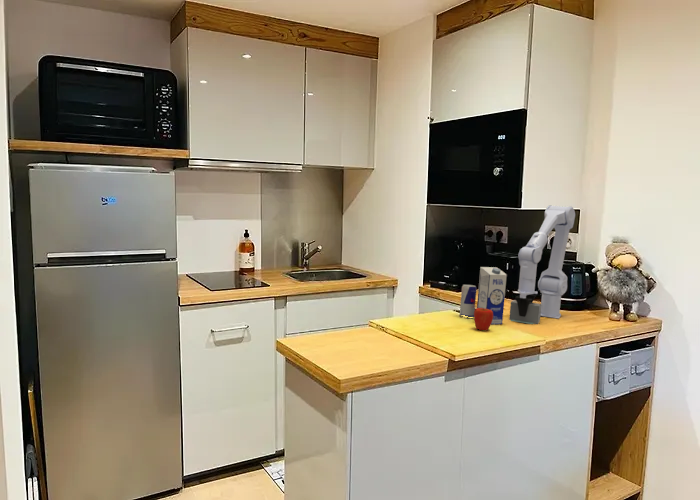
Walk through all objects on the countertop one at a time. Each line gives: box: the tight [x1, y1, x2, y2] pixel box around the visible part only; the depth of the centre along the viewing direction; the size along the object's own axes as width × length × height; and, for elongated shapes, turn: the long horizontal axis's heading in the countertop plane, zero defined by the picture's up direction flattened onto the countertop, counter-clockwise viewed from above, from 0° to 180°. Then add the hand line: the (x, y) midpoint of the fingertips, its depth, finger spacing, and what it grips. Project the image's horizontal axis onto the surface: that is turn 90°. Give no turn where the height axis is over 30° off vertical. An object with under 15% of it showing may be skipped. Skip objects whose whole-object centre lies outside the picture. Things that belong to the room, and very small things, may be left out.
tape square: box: [510, 320, 534, 325], centre depth 197 cm, size 8×8×1 cm
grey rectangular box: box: [508, 299, 542, 325], centre depth 196 cm, size 6×10×7 cm, turn 62°
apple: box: [473, 307, 493, 331], centre depth 177 cm, size 6×6×8 cm
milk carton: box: [476, 266, 508, 325], centre depth 189 cm, size 7×7×20 cm
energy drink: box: [459, 284, 477, 317], centre depth 196 cm, size 5×5×12 cm
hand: (524, 314), depth 196 cm, fingers open, 7 cm apart
